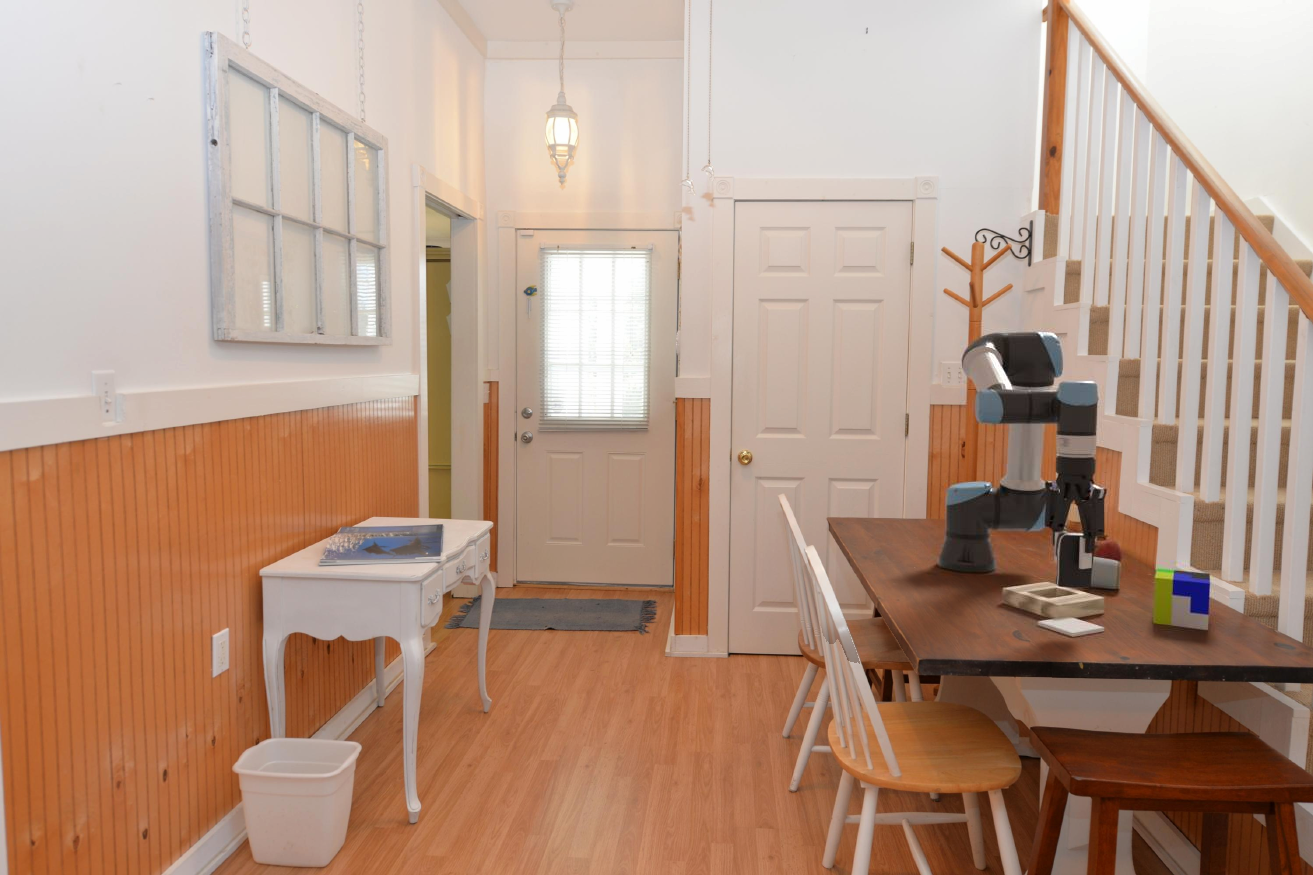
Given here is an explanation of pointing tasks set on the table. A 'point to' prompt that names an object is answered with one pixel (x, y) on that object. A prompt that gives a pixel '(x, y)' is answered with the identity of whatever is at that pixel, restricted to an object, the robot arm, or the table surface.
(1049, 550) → the table surface
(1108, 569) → the grey rounded block
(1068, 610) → the holder block
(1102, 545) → the fruit
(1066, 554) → the battery charger
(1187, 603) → the puzzle toy
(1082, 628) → the white square tile
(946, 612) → the table surface
